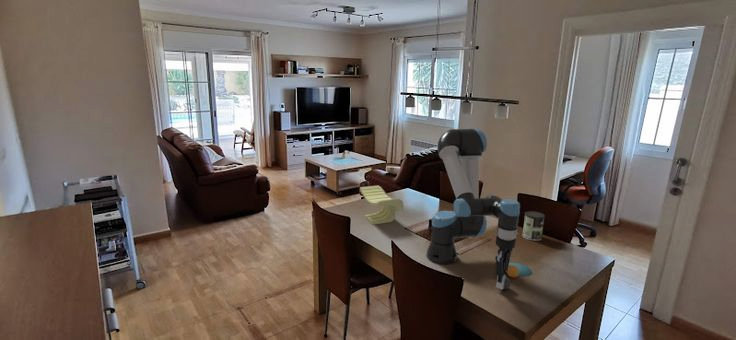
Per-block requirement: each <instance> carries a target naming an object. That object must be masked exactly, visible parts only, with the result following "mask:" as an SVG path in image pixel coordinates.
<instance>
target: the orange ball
mask: <svg viewBox="0 0 736 340" xmlns="http://www.w3.org/2000/svg"><path fill="white" fill-rule="evenodd" d="M506 272H507V273H508V274H507V276H509V277H510V278H517V277H519V276H518V275H519V269H518V267H516V266H515V265H510V266H508V271H506Z"/></svg>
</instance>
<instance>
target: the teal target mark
mask: <svg viewBox="0 0 736 340" xmlns="http://www.w3.org/2000/svg"><path fill="white" fill-rule="evenodd" d="M510 265H515V266H516V267H518V269H519V275H518V276H517V277H528V276H530V275H531V274H532V272H533V271H532V269H531V268H530V267H528V266H526V265H524V264H521V263H517V262H509V266H510Z"/></svg>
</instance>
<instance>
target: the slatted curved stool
mask: <svg viewBox="0 0 736 340" xmlns="http://www.w3.org/2000/svg"><path fill="white" fill-rule="evenodd" d="M359 192H360V193H361V195H362V196H363V198H364V200H365V201H366V202H368V203H369V204H370V205H372V207H374V206H375V207H379V206H380V207H381V209H380V210H379V211H377V212H374V213H370V214H365V216H364V219H366V220H367V221H368V222H370V223H371V224H372V225H378V224H380V225H381V224H384V223H391V222H393V221H395V218H396V212H398V211H399V212H400V211H404V202H403V200H402V199H401V198H397V199H393V198H391V197H390V196H389V195H388V194H387V193H386V191H385V190H384V189H383V187H381V186H380V185H370V186H360V187H359Z"/></svg>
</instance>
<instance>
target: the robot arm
mask: <svg viewBox="0 0 736 340" xmlns="http://www.w3.org/2000/svg"><path fill="white" fill-rule="evenodd" d="M487 148H488V141H487V136H486V134H485V133H484V131H482V130H481V129H479V128H478V129H477V128H458V129H457V128H456V129H455V128H453V129H448V130H446V131H445V132H444V133H442V135H441V136H440V138H439V139H438V141H437V152H438V153H437V154H438V156H439V158H440V159H441V160H442V162H443V163H444V167H445V171H446V173H447V176H448V179H449V181H450V185H451V188H452V190H453V193H454V195H455V200H454V201H453V211H452V210H441V211H437V212H436V213H434V214H433V216H432V220H431V235H430V236H431V237H430V243H429V245H428V247H427V250H426V258H427V259H428V260H429V261H431V262H433V263H436V264H441V265H448V264H449V265H450V264H453V263H455V262H456V261H457V260H458V259H457V258H458V253H457V249H456V245H455V242H456V241H455V240H456V239H459V238H460V239H462V238H463V239H464V238H478V237H482V236H483V235H484V234H485V232H486V230H487V225H488V223H487V221H488V220H487V219H486V218H487V216H488V217H489V216H494V217H495V218H497V219H498V221H497V222H498V223H497V227H496V228H497V229H496V237H495V245H496V247H498V248H499V249H498V250H497V255H496V256H495V257H494V259H495V272H494V273H495V275H496V276H497V277H496V285H495V288H497V289H499V290H502V291H503V290H504V289H503V288H504V281H505V276H506V275H508V273H507V272H506V271H508V266H509V263H510V260H511V256H512V253H513V249H514V248H515V247H516V243H517V242H516V240H517V239H516V238H517V235H519V233H518V226H519V221H520V220H519V218H520V214H521V212H520V211H521V204H520V203H521V202H519V201H517V200H514V199H511V198H510V199H509V198H505V199H503V198H501V197H499V196H497V195H495V194H489V195H487V196H484V197H480V196H479V193H480V192H479V191H480V189H479V183H480V181H479V178H480V177H479V174H480V173H479V171H480V170H479V169H480V168H479V167H480V166H479V164H480V163H479V160H480V159H481V157H483V153H484V152H485V151H486V150H487ZM479 197H480V198H479Z"/></svg>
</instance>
